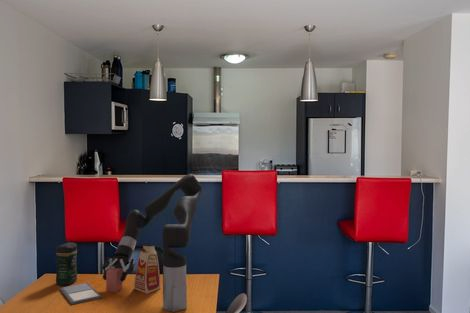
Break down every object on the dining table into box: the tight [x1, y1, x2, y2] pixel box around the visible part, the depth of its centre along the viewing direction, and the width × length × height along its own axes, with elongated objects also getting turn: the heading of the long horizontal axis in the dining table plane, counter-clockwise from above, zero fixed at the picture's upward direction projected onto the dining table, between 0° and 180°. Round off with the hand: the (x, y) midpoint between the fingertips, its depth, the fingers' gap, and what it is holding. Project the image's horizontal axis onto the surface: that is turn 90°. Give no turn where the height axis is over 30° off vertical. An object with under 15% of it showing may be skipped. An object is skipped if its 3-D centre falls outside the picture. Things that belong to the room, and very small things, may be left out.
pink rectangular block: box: [105, 268, 123, 293], centre depth 181 cm, size 5×5×9 cm
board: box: [59, 282, 102, 305], centre depth 175 cm, size 20×12×1 cm, turn 36°
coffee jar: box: [55, 241, 78, 286], centre depth 189 cm, size 10×8×19 cm
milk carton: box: [133, 245, 161, 295], centre depth 182 cm, size 9×9×20 cm
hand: (112, 280), depth 179 cm, fingers open, 8 cm apart
